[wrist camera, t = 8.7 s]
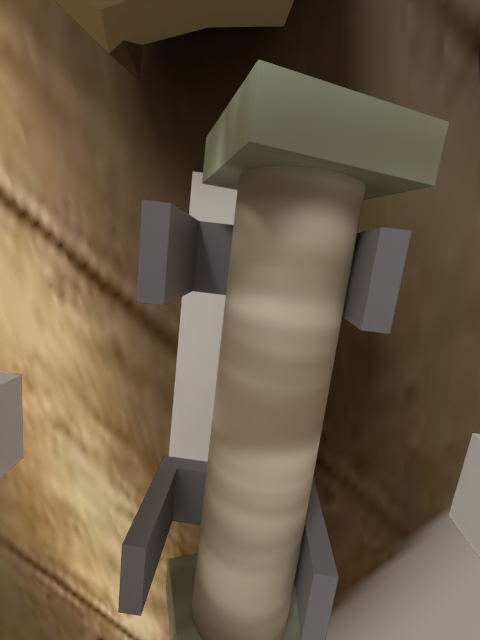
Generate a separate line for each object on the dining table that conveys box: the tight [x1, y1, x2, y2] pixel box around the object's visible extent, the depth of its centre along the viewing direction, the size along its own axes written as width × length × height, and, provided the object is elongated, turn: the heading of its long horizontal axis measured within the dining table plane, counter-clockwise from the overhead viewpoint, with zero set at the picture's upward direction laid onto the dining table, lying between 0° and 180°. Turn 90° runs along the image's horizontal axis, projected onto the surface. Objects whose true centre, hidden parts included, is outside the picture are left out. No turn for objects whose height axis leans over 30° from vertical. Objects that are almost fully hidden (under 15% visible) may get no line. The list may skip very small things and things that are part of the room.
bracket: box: [118, 172, 411, 640], centre depth 15 cm, size 20×9×11 cm, turn 173°
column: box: [166, 59, 449, 640], centre depth 12 cm, size 20×5×5 cm, turn 173°
